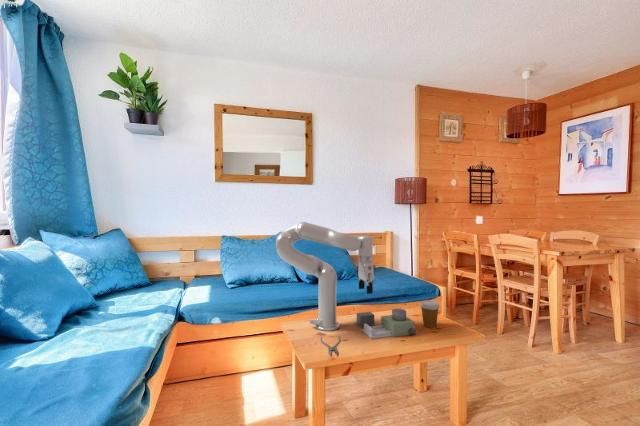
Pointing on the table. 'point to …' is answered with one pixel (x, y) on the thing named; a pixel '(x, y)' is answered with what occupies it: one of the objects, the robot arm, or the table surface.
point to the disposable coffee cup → (429, 313)
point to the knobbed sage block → (391, 326)
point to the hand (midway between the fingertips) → (365, 291)
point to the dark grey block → (365, 319)
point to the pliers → (331, 347)
